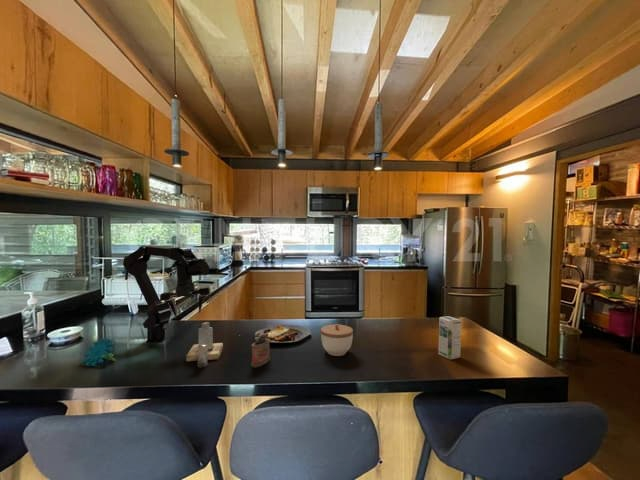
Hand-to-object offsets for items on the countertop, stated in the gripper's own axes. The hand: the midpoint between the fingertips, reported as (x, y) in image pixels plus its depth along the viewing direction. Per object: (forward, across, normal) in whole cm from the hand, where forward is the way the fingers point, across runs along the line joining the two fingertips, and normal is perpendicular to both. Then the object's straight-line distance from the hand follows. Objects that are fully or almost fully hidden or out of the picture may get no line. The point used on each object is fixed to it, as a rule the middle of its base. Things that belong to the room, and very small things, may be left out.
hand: (188, 314), depth 122 cm
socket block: (+14, +7, -12) cm, 20 cm away
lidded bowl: (+20, +56, -22) cm, 63 cm away
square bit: (+14, +7, -12) cm, 20 cm away
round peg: (+15, +7, -22) cm, 27 cm away
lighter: (+17, +27, -25) cm, 40 cm away
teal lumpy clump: (+11, -28, -11) cm, 32 cm away
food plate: (+17, +38, 0) cm, 42 cm away
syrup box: (+25, +97, -36) cm, 106 cm away
